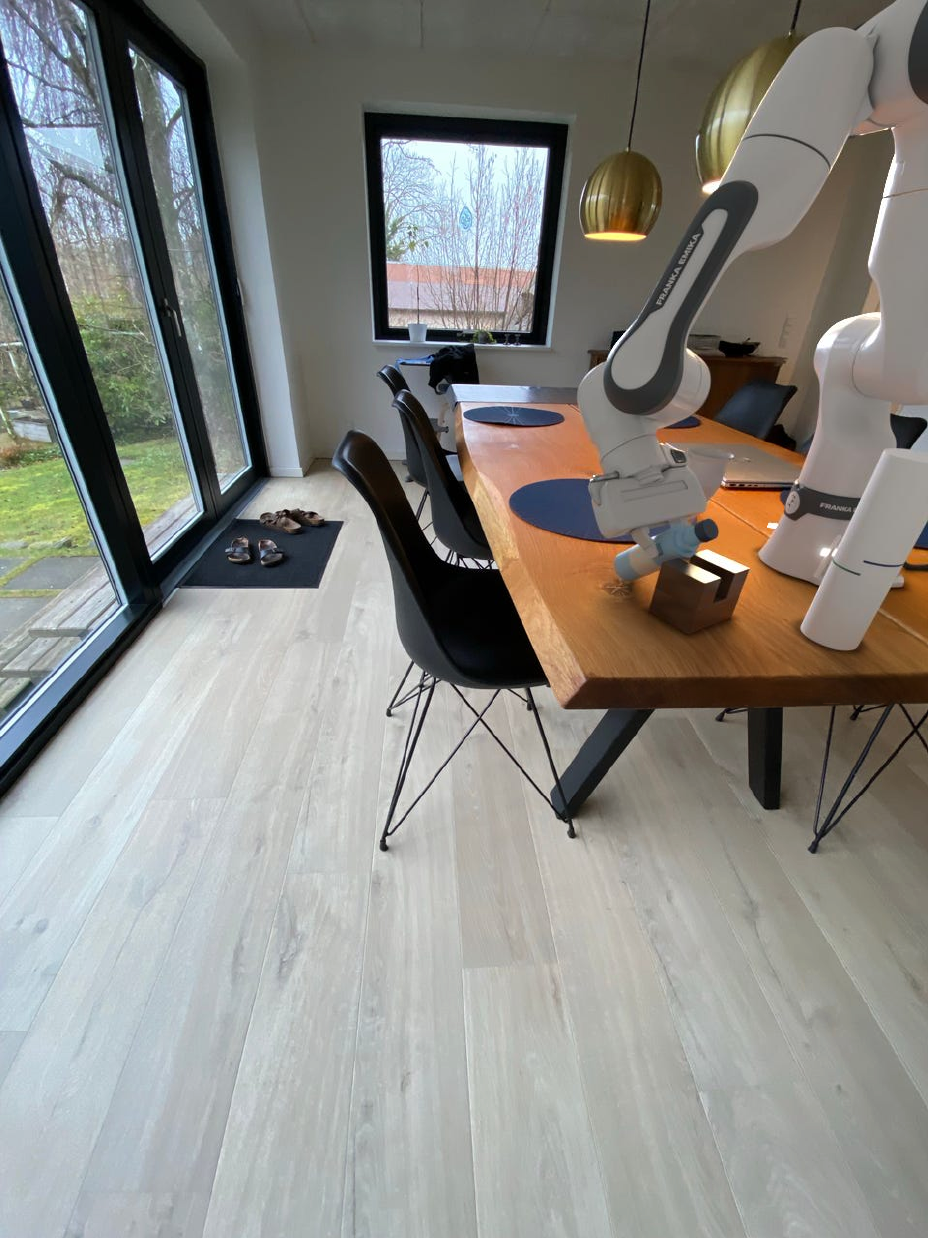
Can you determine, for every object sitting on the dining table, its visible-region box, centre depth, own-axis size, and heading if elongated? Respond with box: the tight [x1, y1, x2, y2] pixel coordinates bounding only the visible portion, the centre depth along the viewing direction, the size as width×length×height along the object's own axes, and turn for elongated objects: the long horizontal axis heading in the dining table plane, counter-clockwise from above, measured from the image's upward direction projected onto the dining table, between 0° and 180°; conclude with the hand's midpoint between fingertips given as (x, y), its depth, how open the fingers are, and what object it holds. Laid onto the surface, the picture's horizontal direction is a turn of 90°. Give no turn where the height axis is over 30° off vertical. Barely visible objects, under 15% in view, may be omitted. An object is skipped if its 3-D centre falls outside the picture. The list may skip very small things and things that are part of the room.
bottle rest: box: [648, 549, 751, 635], centre depth 74 cm, size 7×10×8 cm
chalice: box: [685, 446, 734, 559], centre depth 91 cm, size 7×7×18 cm
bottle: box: [613, 517, 720, 583], centre depth 78 cm, size 14×5×14 cm, turn 32°
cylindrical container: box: [800, 447, 928, 651], centre depth 67 cm, size 7×7×25 cm
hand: (671, 553), depth 77 cm, fingers closed on bottle, 5 cm apart
